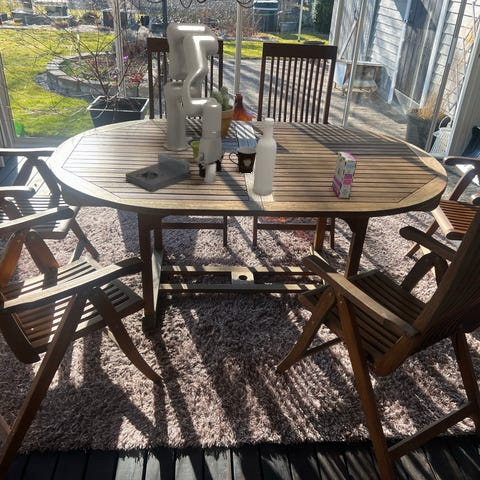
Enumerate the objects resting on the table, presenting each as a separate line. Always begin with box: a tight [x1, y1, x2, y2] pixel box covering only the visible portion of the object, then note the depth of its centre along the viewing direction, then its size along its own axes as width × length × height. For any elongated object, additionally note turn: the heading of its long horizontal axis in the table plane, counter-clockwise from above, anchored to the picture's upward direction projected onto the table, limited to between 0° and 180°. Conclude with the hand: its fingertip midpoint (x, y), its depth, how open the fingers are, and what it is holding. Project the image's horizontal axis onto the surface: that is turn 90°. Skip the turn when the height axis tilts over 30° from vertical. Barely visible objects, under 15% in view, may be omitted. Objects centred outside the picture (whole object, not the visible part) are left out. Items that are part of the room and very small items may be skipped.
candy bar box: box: [331, 151, 358, 199], centre depth 188 cm, size 11×5×16 cm, turn 5°
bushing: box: [203, 161, 217, 184], centre depth 192 cm, size 5×5×8 cm
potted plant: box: [210, 85, 235, 139], centre depth 243 cm, size 18×19×25 cm
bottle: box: [252, 117, 278, 196], centre depth 181 cm, size 8×8×30 cm
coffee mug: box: [228, 146, 257, 174], centre depth 204 cm, size 12×9×10 cm
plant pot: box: [190, 140, 205, 165], centre depth 211 cm, size 9×9×9 cm
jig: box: [125, 152, 192, 193], centre depth 190 cm, size 22×16×7 cm
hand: (210, 173), depth 192 cm, fingers open, 9 cm apart
